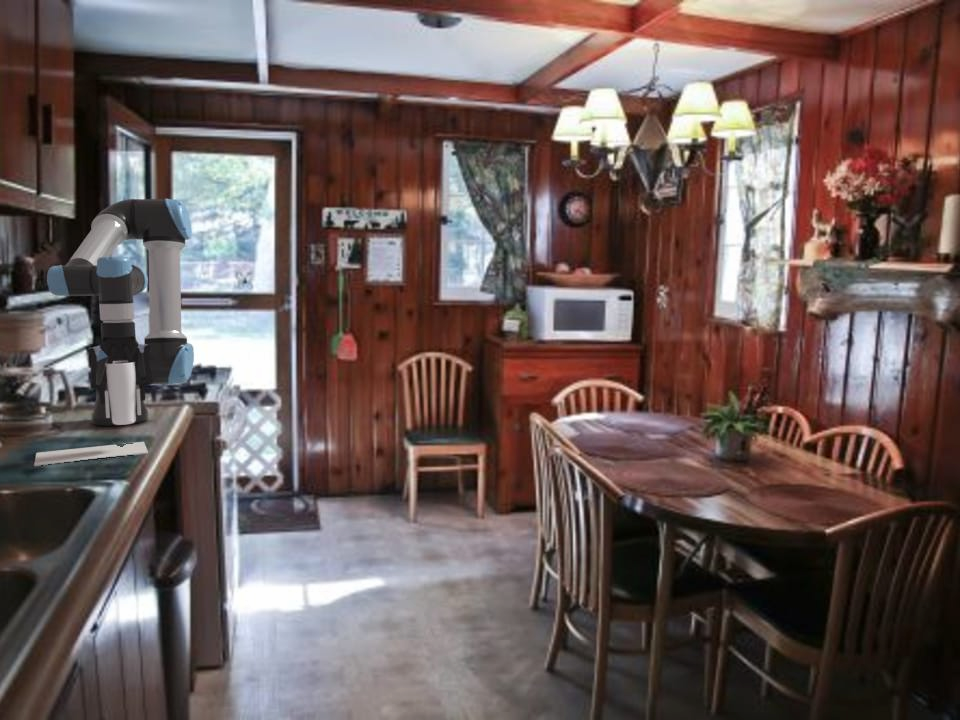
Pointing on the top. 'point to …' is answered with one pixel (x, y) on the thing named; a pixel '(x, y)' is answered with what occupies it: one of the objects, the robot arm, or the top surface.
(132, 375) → the white cup
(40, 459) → the rubber mat
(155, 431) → the top surface
